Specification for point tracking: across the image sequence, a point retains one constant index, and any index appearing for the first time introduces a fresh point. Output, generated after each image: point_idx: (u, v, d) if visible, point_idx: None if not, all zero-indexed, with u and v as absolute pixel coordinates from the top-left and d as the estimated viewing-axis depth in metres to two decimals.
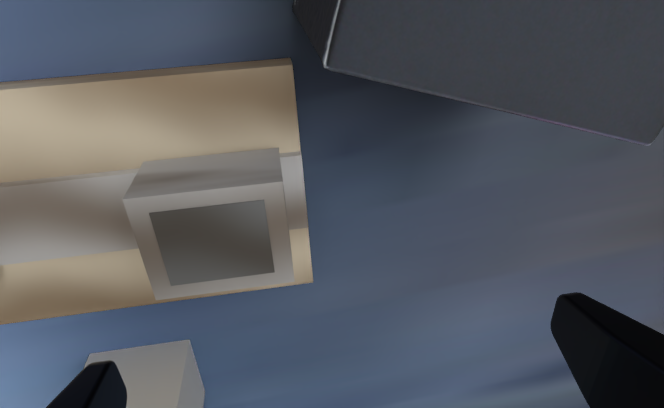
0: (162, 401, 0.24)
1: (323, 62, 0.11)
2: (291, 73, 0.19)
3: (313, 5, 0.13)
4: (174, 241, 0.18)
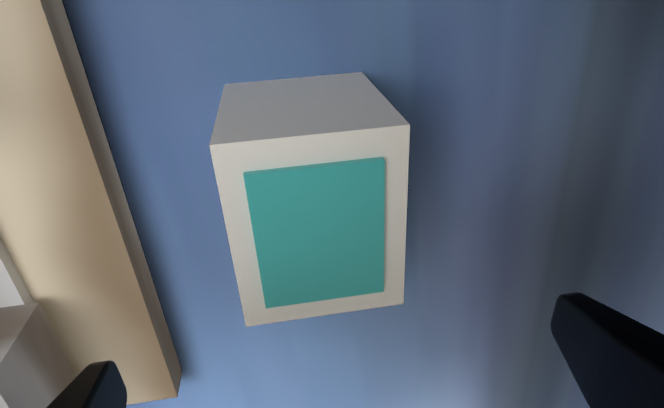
0: None
1: None
2: None
3: None
4: None
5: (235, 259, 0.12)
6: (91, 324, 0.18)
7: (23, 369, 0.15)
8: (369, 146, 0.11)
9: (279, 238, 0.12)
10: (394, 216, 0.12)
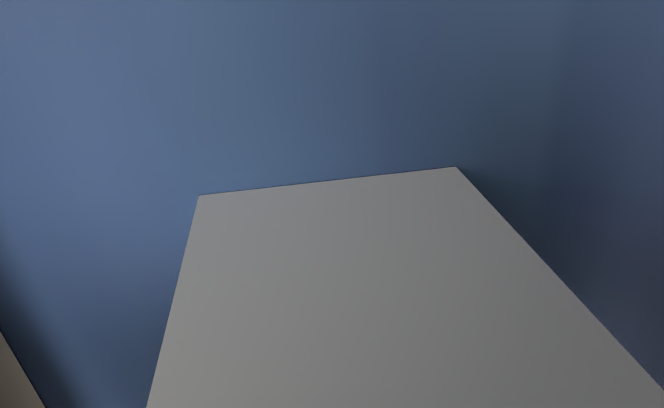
0: None
1: None
2: None
3: None
4: None
5: None
6: None
7: None
8: None
9: None
10: None
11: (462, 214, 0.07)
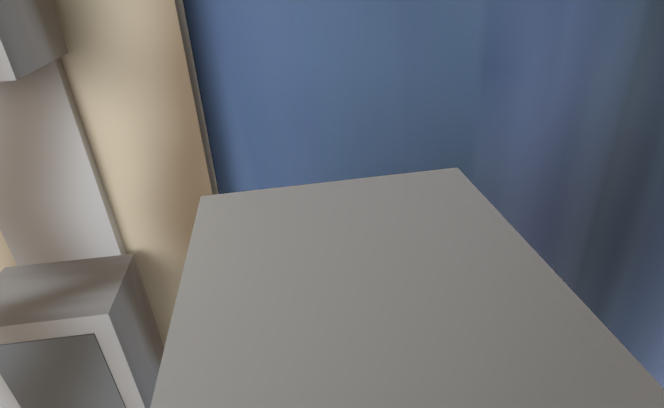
0: None
1: None
2: None
3: None
4: None
5: None
6: (174, 277, 0.20)
7: (126, 311, 0.17)
8: None
9: None
10: None
11: (464, 215, 0.07)
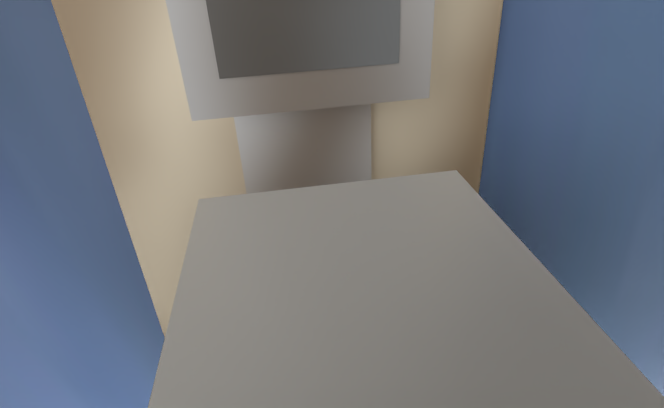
0: None
1: None
2: None
3: None
4: (289, 38, 0.08)
5: None
6: None
7: None
8: None
9: None
10: None
11: (462, 218, 0.07)
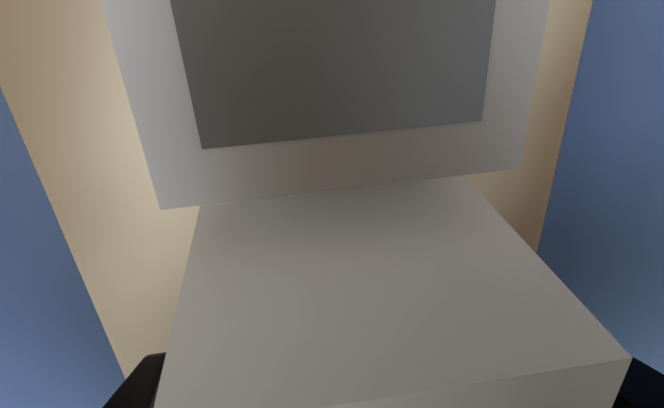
0: None
1: None
2: None
3: None
4: (314, 85, 0.05)
5: None
6: None
7: None
8: (531, 401, 0.05)
9: None
10: None
11: (438, 183, 0.08)
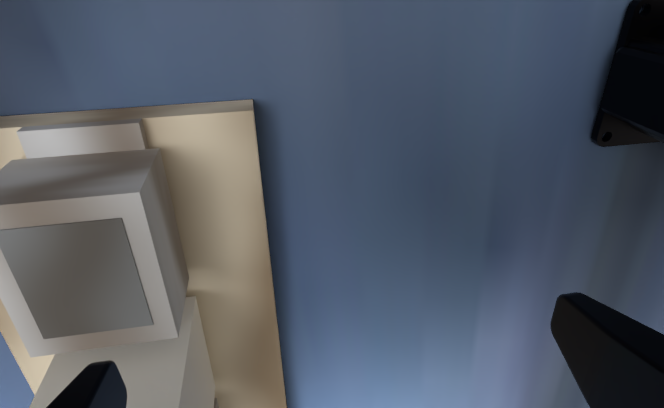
0: None
1: None
2: None
3: None
4: (83, 318, 0.15)
5: None
6: None
7: None
8: None
9: None
10: None
11: None
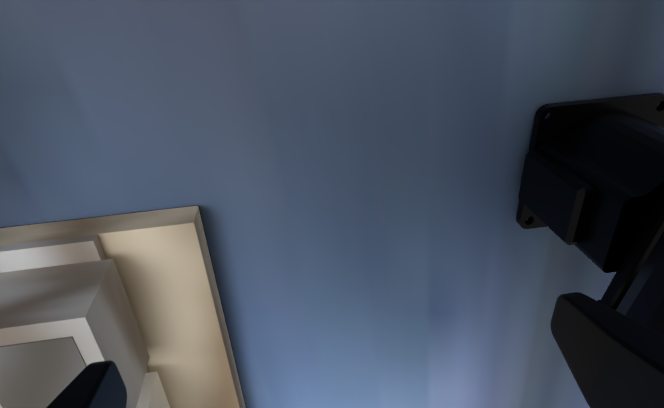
0: None
1: None
2: None
3: None
4: None
5: None
6: None
7: None
8: None
9: None
10: None
11: (137, 403, 0.21)
